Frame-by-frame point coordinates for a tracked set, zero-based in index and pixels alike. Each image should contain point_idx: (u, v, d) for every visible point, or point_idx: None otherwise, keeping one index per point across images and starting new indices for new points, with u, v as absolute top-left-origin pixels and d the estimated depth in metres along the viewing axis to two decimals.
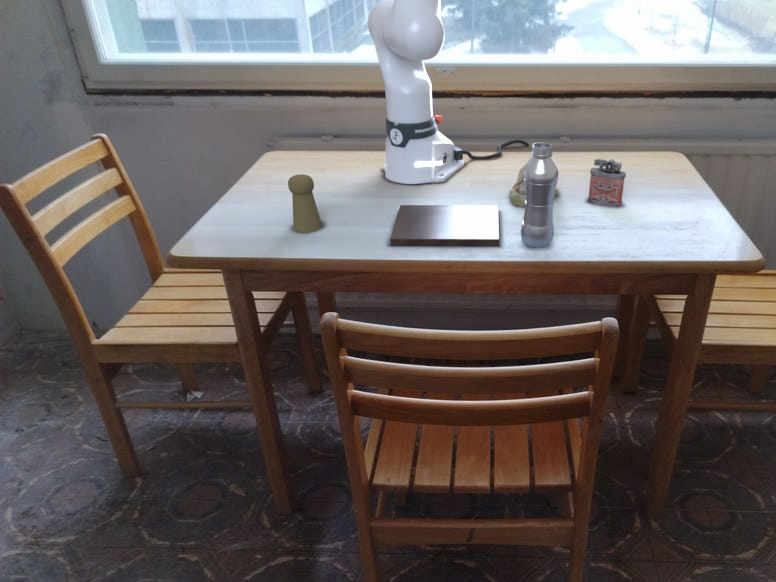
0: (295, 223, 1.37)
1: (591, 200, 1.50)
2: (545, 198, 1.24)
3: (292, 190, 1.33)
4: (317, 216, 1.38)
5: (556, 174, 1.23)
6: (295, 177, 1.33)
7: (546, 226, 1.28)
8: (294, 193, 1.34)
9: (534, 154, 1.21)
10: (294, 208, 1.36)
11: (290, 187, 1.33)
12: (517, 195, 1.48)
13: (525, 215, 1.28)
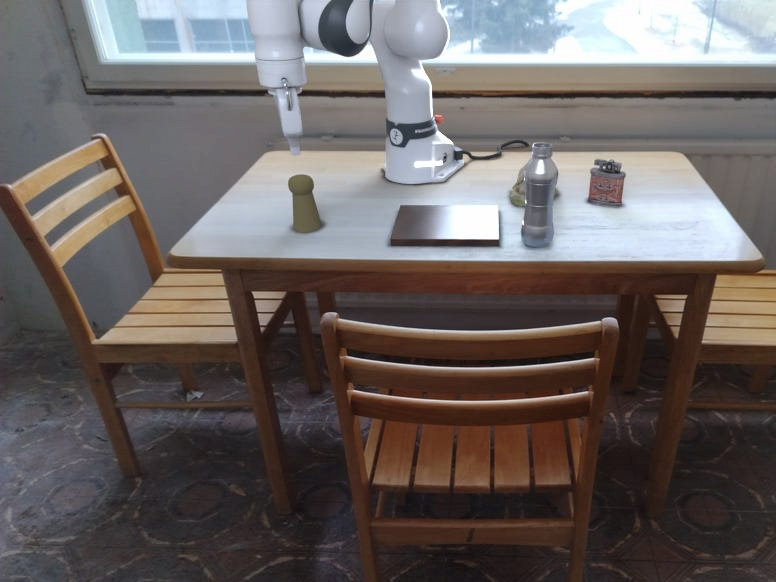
0: (295, 223, 1.37)
1: (591, 200, 1.50)
2: (545, 198, 1.24)
3: (292, 190, 1.33)
4: (317, 216, 1.38)
5: (556, 174, 1.23)
6: (295, 177, 1.33)
7: (546, 226, 1.28)
8: (294, 193, 1.34)
9: (534, 154, 1.21)
10: (294, 208, 1.36)
11: (290, 187, 1.33)
12: (517, 195, 1.48)
13: (525, 215, 1.28)
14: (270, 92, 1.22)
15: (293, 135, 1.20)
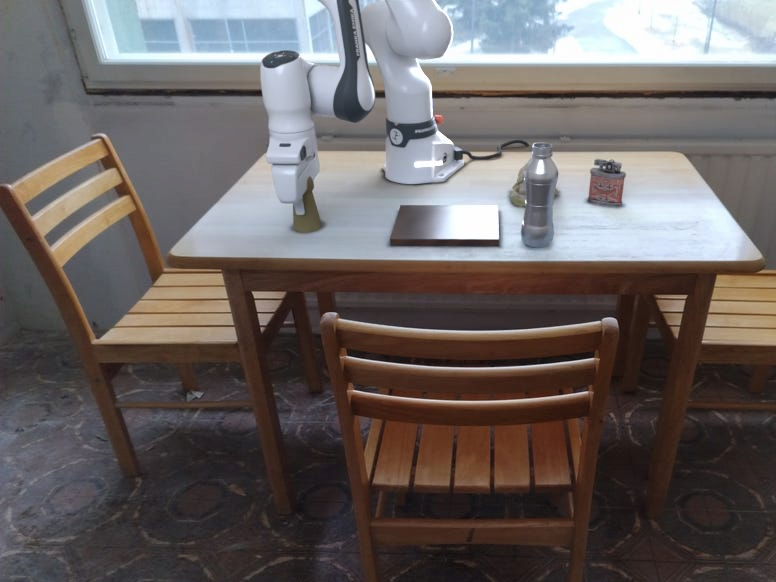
0: (295, 223, 1.37)
1: (591, 200, 1.50)
2: (545, 198, 1.24)
3: None
4: (317, 216, 1.38)
5: (556, 174, 1.23)
6: None
7: (546, 226, 1.28)
8: None
9: (534, 154, 1.21)
10: (294, 208, 1.36)
11: None
12: (517, 195, 1.48)
13: (525, 215, 1.28)
14: None
15: None
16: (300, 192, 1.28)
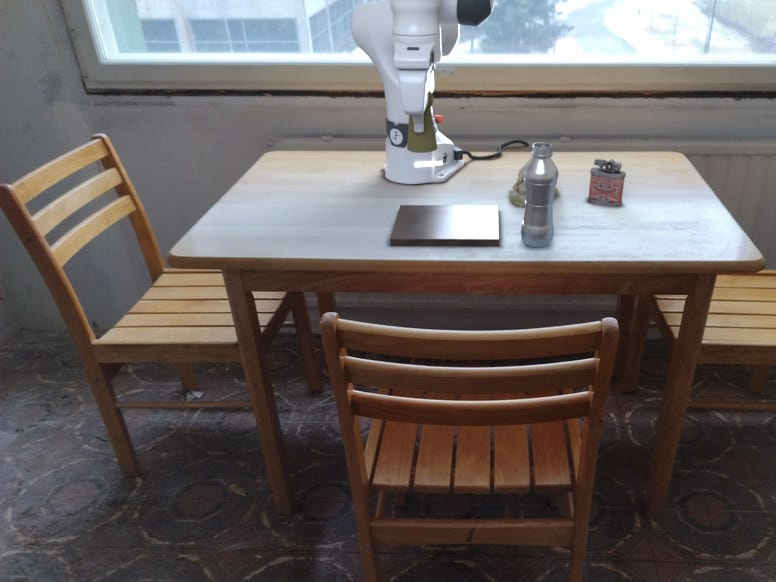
0: (411, 143, 1.27)
1: (591, 200, 1.50)
2: (545, 198, 1.24)
3: None
4: (434, 136, 1.27)
5: (556, 174, 1.23)
6: None
7: (546, 226, 1.28)
8: None
9: (534, 154, 1.21)
10: (411, 126, 1.25)
11: None
12: (517, 195, 1.48)
13: (525, 215, 1.28)
14: None
15: None
16: (425, 103, 1.18)
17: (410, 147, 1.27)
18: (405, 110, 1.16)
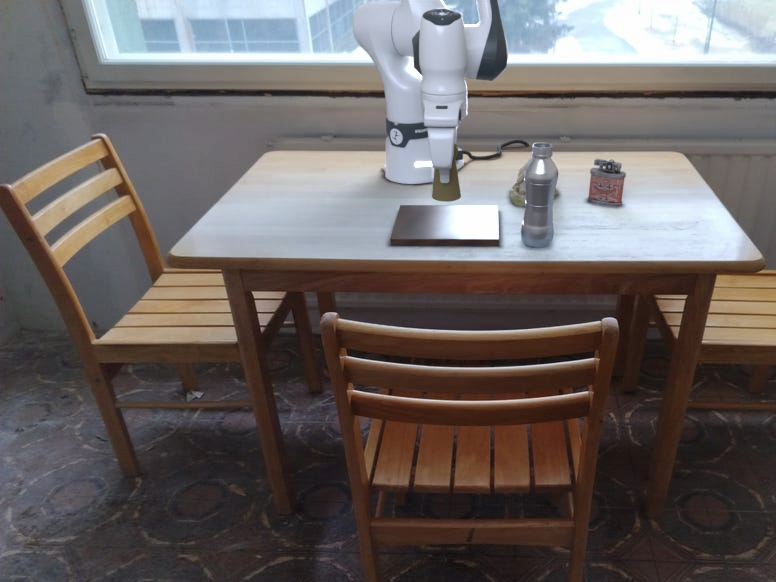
0: (436, 192, 1.32)
1: (591, 200, 1.50)
2: (545, 198, 1.24)
3: None
4: (458, 185, 1.33)
5: (556, 174, 1.23)
6: None
7: (546, 226, 1.28)
8: None
9: (534, 154, 1.21)
10: (436, 176, 1.31)
11: None
12: (517, 195, 1.48)
13: (525, 215, 1.28)
14: None
15: None
16: None
17: (435, 196, 1.33)
18: (434, 165, 1.21)
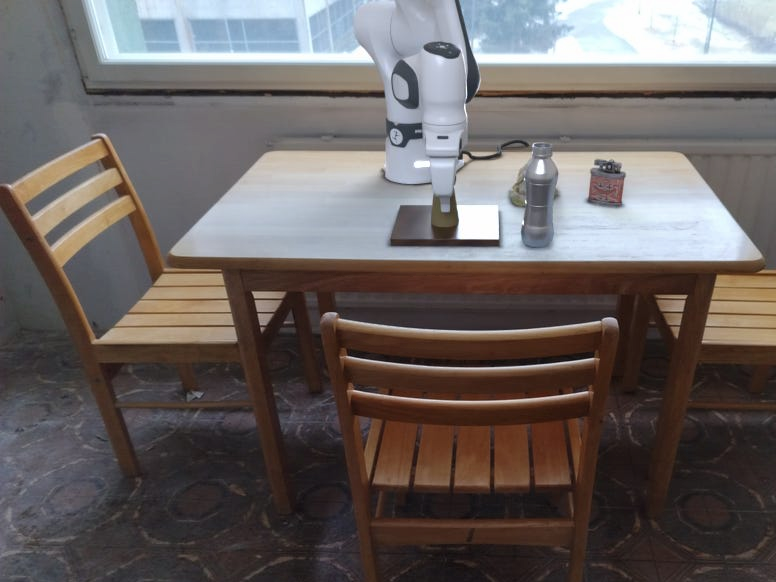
0: (434, 218, 1.36)
1: (591, 200, 1.50)
2: (545, 198, 1.24)
3: None
4: (456, 211, 1.36)
5: (556, 174, 1.23)
6: None
7: (546, 226, 1.28)
8: None
9: (534, 154, 1.21)
10: (435, 202, 1.34)
11: None
12: (517, 195, 1.48)
13: (525, 215, 1.28)
14: None
15: None
16: None
17: (434, 221, 1.36)
18: (435, 193, 1.24)
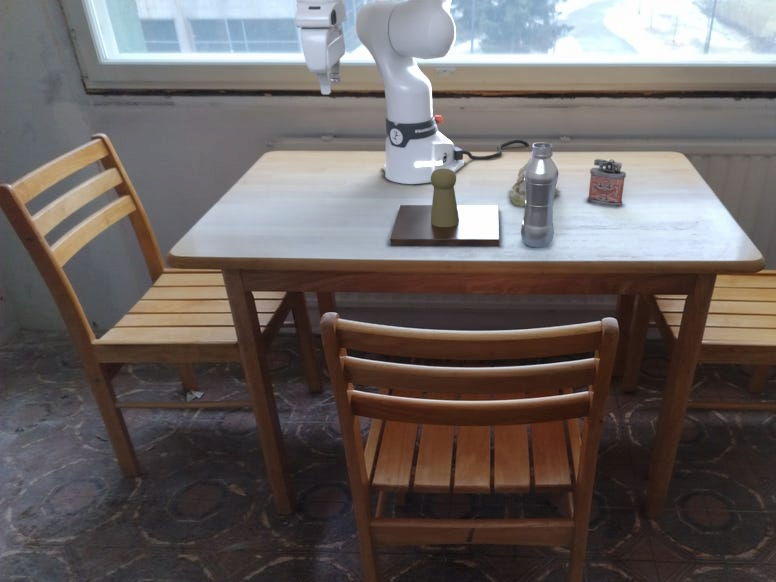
0: (434, 218, 1.36)
1: (591, 200, 1.50)
2: (545, 198, 1.24)
3: (436, 184, 1.31)
4: (456, 211, 1.36)
5: (556, 174, 1.23)
6: (439, 171, 1.31)
7: (546, 226, 1.28)
8: (437, 187, 1.32)
9: (534, 154, 1.21)
10: (435, 203, 1.34)
11: (434, 181, 1.31)
12: (517, 195, 1.48)
13: (525, 215, 1.28)
14: None
15: None
16: (329, 62, 1.22)
17: (434, 221, 1.36)
18: (309, 68, 1.20)
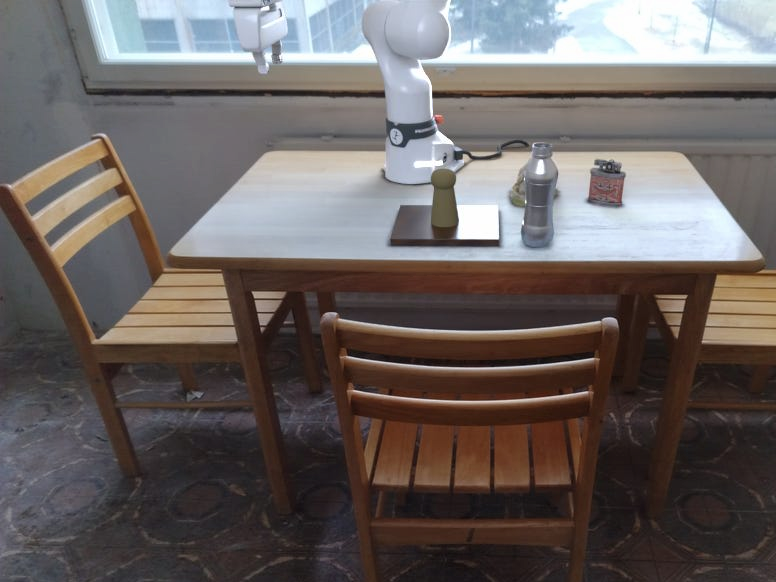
0: (434, 218, 1.36)
1: (591, 200, 1.50)
2: (545, 198, 1.24)
3: (436, 184, 1.31)
4: (456, 211, 1.36)
5: (556, 174, 1.23)
6: (439, 171, 1.31)
7: (546, 226, 1.28)
8: (437, 187, 1.32)
9: (534, 154, 1.21)
10: (435, 203, 1.34)
11: (434, 181, 1.31)
12: (517, 195, 1.48)
13: (525, 215, 1.28)
14: None
15: None
16: (264, 41, 1.25)
17: (434, 221, 1.36)
18: (242, 47, 1.23)
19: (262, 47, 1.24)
